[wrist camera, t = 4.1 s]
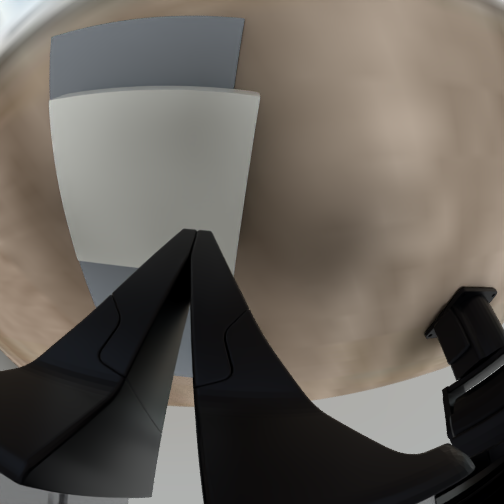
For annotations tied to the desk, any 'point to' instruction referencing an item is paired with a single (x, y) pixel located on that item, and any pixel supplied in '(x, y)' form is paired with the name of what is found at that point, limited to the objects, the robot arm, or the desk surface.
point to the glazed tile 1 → (152, 167)
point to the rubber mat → (145, 74)
